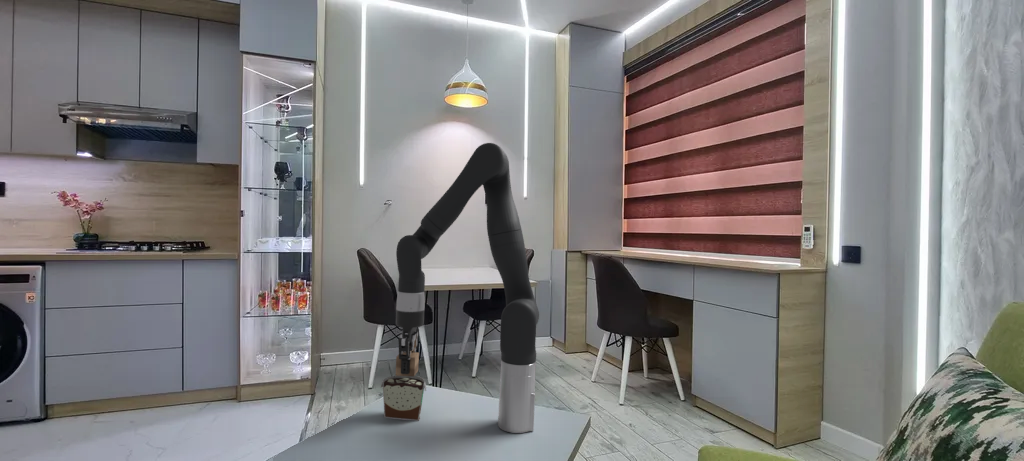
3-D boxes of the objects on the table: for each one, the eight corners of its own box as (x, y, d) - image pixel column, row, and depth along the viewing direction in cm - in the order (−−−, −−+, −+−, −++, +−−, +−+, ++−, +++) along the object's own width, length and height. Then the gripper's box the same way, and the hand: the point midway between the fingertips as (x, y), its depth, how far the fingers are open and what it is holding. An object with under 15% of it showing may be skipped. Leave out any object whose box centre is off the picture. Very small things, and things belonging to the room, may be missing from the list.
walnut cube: (418, 370, 125) (419, 352, 125) (414, 376, 120) (415, 357, 120) (400, 369, 125) (401, 351, 125) (395, 375, 120) (396, 356, 120)
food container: (430, 412, 125) (432, 376, 125) (424, 421, 119) (425, 383, 119) (387, 408, 126) (389, 372, 126) (379, 417, 120) (380, 379, 120)
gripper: (418, 313, 116) (415, 379, 115) (429, 304, 130) (426, 363, 130) (389, 312, 116) (386, 378, 115) (403, 303, 130) (400, 362, 130)
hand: (407, 370), depth 123 cm, fingers closed on walnut cube, 4 cm apart
